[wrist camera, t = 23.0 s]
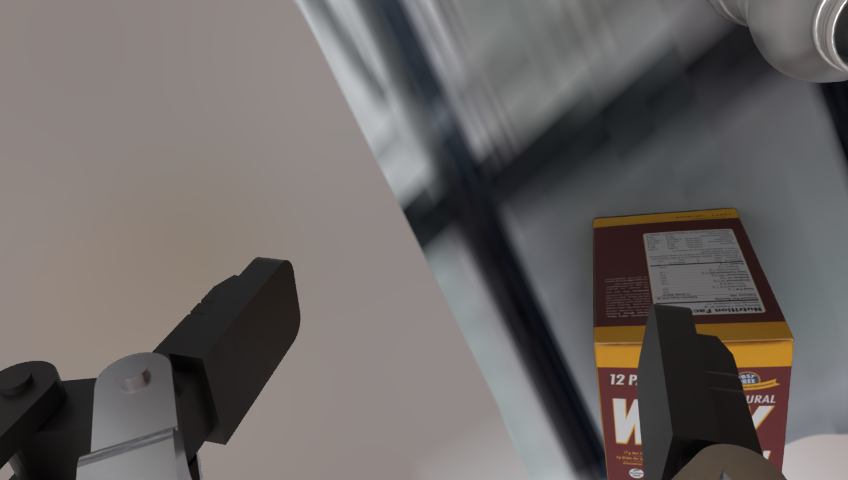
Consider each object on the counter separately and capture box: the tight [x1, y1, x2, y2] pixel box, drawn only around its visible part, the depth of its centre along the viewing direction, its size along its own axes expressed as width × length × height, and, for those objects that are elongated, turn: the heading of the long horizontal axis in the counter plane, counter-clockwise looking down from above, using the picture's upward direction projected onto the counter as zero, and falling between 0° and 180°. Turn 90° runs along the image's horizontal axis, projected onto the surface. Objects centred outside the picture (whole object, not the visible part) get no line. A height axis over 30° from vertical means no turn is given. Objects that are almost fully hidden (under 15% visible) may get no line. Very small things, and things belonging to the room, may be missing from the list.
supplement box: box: [593, 208, 794, 480], centre depth 43 cm, size 10×15×16 cm
